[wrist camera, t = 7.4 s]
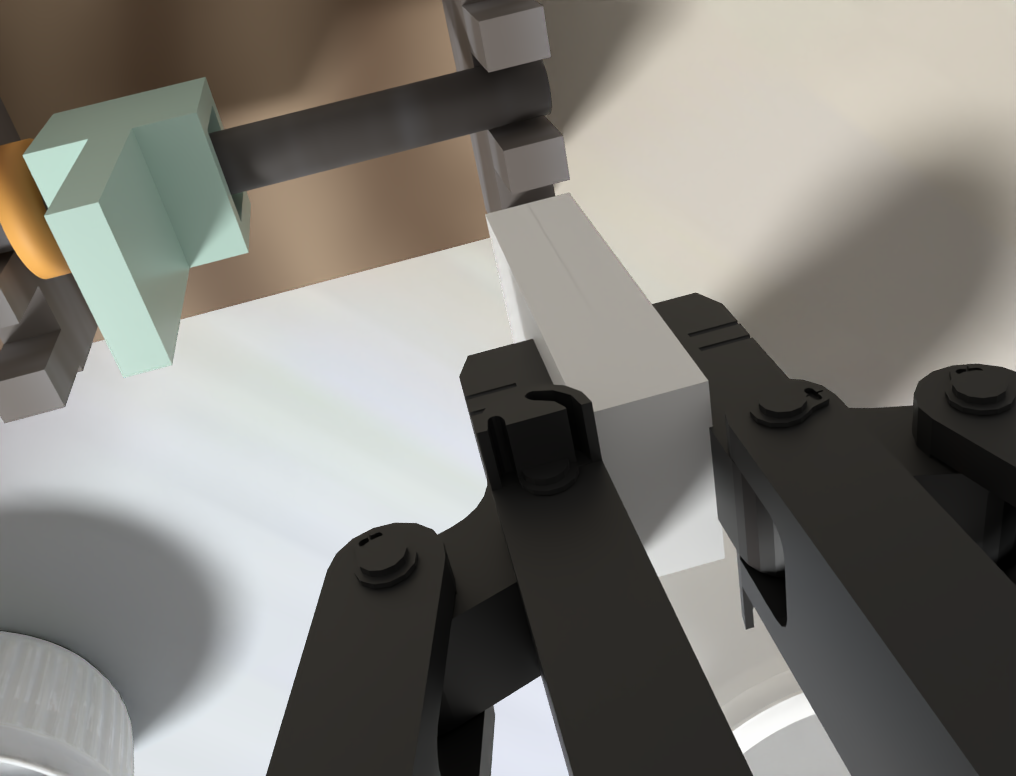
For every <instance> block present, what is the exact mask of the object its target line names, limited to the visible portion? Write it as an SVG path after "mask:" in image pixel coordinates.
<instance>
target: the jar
mask: <svg viewBox="0 0 1016 776" xmlns="http://www.w3.org/2000/svg"><path fill="white" fill-rule="evenodd" d="M722 531H723V541H724V552H725V558H724V559H720V560H717V561H713V562H710V563H706V564H702V565H699V566H695V567H692V568H688V569H685V570H681V571H678V572H674V573H671V574H667V575H664V576H660V577H658V578H659V580H660V582H661V584H662V586H663V588H664V590H665V592H666V594H667V596H668V599H669V601H670V603H671V605H672V607H673V609H674V611H675V613H676V615H677V617H678V619H679V621H680V624H681V626H682V628H683V630H684V632H685V634H686V636H687V638H688V640H689V642H690V644H691V647H692V649H693V651H694V653H695V655H696V657H697V659H698V661H699V663H700V665H701V667H702V670H703V672H704V674H705V676H706V678H707V680H708V682H709V684H710V686H711V688H712V690H713V692H714V695H715V697H716V699H717V701H718V703H719V705H720V707H721V709H722V711H723V713H724V715H725V718H726V720H727V722H728V724H729V726H730V728H731V730H732V732H733V734H734V736H735V738H736V740H737V743H738V745H739V747H740V749H741V751H742V753H743V755H744V757H745V759H746V761H747V763H748V766H749V768H750V770H751V772H752V774H753V776H851V774H850V773H849V771H848V769H847V767H846V766H845V764H844V762H843V761H842V759H841V757H840V755H839V754H838V752H837V750H836V748H835V747H834V745H833V743H832V741H831V740H830V738H829V736H828V735H827V733H826V731H825V729H824V728H823V726H822V724H821V722H820V721H819V719H818V717H817V715H816V714H815V712H814V710H813V709H812V707H811V705H810V703H809V702H808V700H807V698H806V696H805V695H804V693H803V691H802V689H801V688H800V686H799V684H798V682H797V681H796V679H795V677H794V676H793V674H792V672H791V670H790V669H789V667H788V665H787V663H786V662H785V660H784V658H783V656H782V655H781V653H780V651H779V650H778V648H777V646H776V644H775V643H774V641H773V639H772V637H771V636H770V634H769V632H768V630H767V629H766V627H765V625H764V624H763V622H762V620H761V618H760V617H759V615H758V613H757V611H756V610H755V608H753V618H754V628H750V629H747V630H746V629H745V625H744V621H743V618H742V610H741V598H740V586H739V575H738V563H737V551H736V548H735V547H734V545H733V543H732V542H731V540H730V538H729V537H728V535H727V533H726V532H725V530H724V528H723V527H722Z"/></svg>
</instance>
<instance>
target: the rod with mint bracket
mask: <svg viewBox="0 0 1016 776" xmlns="http://www.w3.org/2000/svg"><path fill="white" fill-rule="evenodd" d="M549 57H551V53H550V47H549V40H548V34H547V27H546V21H545V14H544V8H543V6H542V5H541V4H539V3H538V2H536V1H535V0H0V416H1V418H2V420H3V421H4V423H8V422H11V421H15V420H19V419H22V418H26V417H30V416H34V415H37V414H41V413H45V412H48V411H52V410H56V409H59V408H63V407H65V406H66V403H67V400H68V397H69V394H70V391H71V388H72V386H73V383H74V380H75V377H76V374H77V372H80V371H83V369H84V366H85V363H86V360H87V357H88V354H89V351H90V348H91V345H92V343H93V342H97V341H101V340H105V339H104V337H103V335H102V333H101V331H100V329H99V327H98V325H97V323H96V321H95V319H94V317H93V315H92V313H91V311H90V309H89V307H88V305H87V303H86V300H85V298H84V296H83V294H82V292H81V290H80V288H79V286H78V284H77V282H76V280H75V278H74V276H73V274H72V272H71V270H70V268H69V266H68V264H67V262H66V260H65V258H64V256H63V254H62V252H61V250H60V248H59V246H58V244H57V242H56V240H55V238H54V236H53V234H52V231H51V229H50V227H49V225H48V223H47V221H46V219H45V217H44V215H45V213H46V211H47V210H48V207H47V205H46V203H45V201H44V199H43V196H42V194H41V192H40V190H39V188H38V186H37V184H36V182H35V180H34V178H33V176H32V174H31V172H30V170H29V168H28V166H27V164H26V162H25V160H24V158H23V154H24V152H25V151H26V150H27V148H28V147H29V146H30V144H31V143H32V142H33V140H34V139H35V138H36V136H37V135H38V134H39V132H40V131H41V130H42V128H43V127H44V125H45V124H46V123H47V121H48V120H49V119H50V117H51V116H52V115H53V114H55V113H59V112H63V111H67V110H71V109H75V108H79V107H84V106H88V105H92V104H96V103H100V102H104V101H108V100H112V99H117V98H121V97H125V96H129V95H133V94H137V93H141V92H145V91H150V90H154V89H158V88H162V87H166V86H170V85H174V84H178V83H182V82H187V81H191V80H195V79H199V78H203V77H206V80H207V83H208V85H209V88H210V91H211V94H212V97H213V99H214V102H215V105H216V108H217V111H218V113H219V116H220V119H221V122H222V124H223V127H224V130H220V131H216V132H212V133H208V134H209V136H210V139H211V142H212V145H213V147H214V150H215V153H216V155H217V158H218V161H219V164H220V166H221V169H222V172H223V174H224V177H225V180H226V183H227V185H228V188H229V191H230V193H231V195H233V194H237V193H241V192H245V191H246V192H247V194H248V197H249V200H250V203H251V212H250V233H249V253H245V254H241V255H237V256H234V257H230V258H226V259H222V260H218V261H214V262H211V263H207V264H203V265H199V266H195V267H191V268H190V269H189V274H188V280H187V285H186V291H185V296H184V302H183V308H182V313H181V319H184V318H188V317H192V316H195V315H199V314H203V313H207V312H210V311H214V310H218V309H222V308H226V307H229V306H233V305H237V304H241V303H244V302H248V301H252V300H256V299H260V298H263V297H267V296H271V295H275V294H278V293H282V292H286V291H290V290H294V289H297V288H301V287H305V286H309V285H312V284H316V283H320V282H324V281H328V280H331V279H335V278H339V277H343V276H346V275H350V274H354V273H358V272H362V271H365V270H369V269H373V268H377V267H380V266H384V265H388V264H392V263H396V262H399V261H403V260H407V259H411V258H415V257H418V256H422V255H426V254H430V253H433V252H437V251H441V250H445V249H449V248H452V247H456V246H460V245H464V244H467V243H471V242H475V241H479V240H483V239H486V238H490V234H489V229H488V225H487V220H486V216H485V214H488V213H492V212H496V211H500V210H504V209H507V208H511V207H515V206H519V205H523V204H527V203H531V202H535V201H538V200H542V199H546V198H550V197H554V196H555V193H554V187H553V184H555V183H559V182H563V181H567V180H570V177H569V171H568V164H567V157H566V151H565V144H564V138H563V135H562V134H561V133H560V132H559V131H558V130H557V129H556V128H555V127H554V126H553V124H552V123H551V122H550V121H549V120H548V119H547V118H546V117H545V116H544V115H547V114H550V113H551V108H552V103H551V93H550V86H549V82H548V77H547V73H546V70H545V67H544V64H543V61H542V59H545V58H549Z"/></svg>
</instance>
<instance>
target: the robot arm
mask: <svg viewBox="0 0 1016 776" xmlns="http://www.w3.org/2000/svg"><path fill="white" fill-rule="evenodd" d="M485 216H486V220H487V225H488V229H489V234H490V238H491V243H492V247H493V252H494V256H495V261H496V265H497V270H498V274H499V279H500V283H501V288H502V292H503V297H504V301H505V306H506V310H507V315H508V319H509V324H510V328H511V333H512V337H513V342H514V344H511V345H507V346H503V347H499V348H496V349H492V350H488V351H484V352H481V353H477V354H473V355H469V356H468V357H467V360H466V362H465V364H464V367H463V369H462V371H461V374H460V376H459V378H460V381H461V385H462V389H463V393H464V396H465V400H466V404H467V408H468V412H469V415H470V419H471V423H472V427H473V430H474V434H475V438H476V442H477V446H478V449H479V453H480V457H481V460H482V464H483V468H484V471H485V475H486V478H487V488H486V492H485V495H484V497H483V499H482V500H481V502H480V503H479V505H478V506H477V508H476V509H475V510H473V511H472V512H471V513H470V514H469V515H468V516H467V517H466V518H465V519H463V520H462V521H460V522H459V523H457V524H456V525H454V526H453V527H451V528H449V529H447V530H445V531H444V532H442V533H440V534H438V535H437V534H436V533H435V531H434V530H433V529H430V528H427V527H425V526H422V525H419V524H417V523H392V524H388V525H384V526H380V527H376V528H373V529H371V530H369V531H367V532H365V533H363V534H361V535H359V536H357V537H355V538H353V539H352V540H351V541H350V542H349V543H348V544H346V545H345V546H344V547H343V548H342V549H341V550H340V551H339V552H338V553H337V554H336V555H335V557H334V559H333V561H332V563H331V565H330V566H329V568H328V570H327V573H326V576H325V580H324V583H323V586H322V590H321V593H320V596H319V600H318V603H317V607H316V610H315V613H314V617H313V620H312V623H311V627H310V630H309V633H308V637H307V640H306V643H305V647H304V650H303V653H302V657H301V660H300V663H299V667H298V670H297V673H296V677H295V680H294V683H293V687H292V690H291V694H290V697H289V700H288V704H287V707H286V710H285V714H284V717H283V720H282V724H281V727H280V730H279V734H278V737H277V740H276V744H275V747H274V750H273V754H272V757H271V760H270V764H269V767H268V771H267V774H266V776H491V764H492V751H493V737H494V723H495V713H494V706H493V705H494V704H496V703H497V702H499V701H501V700H502V699H504V698H505V697H507V696H509V695H510V694H512V693H513V692H515V691H517V690H518V689H520V688H521V687H523V686H525V685H526V684H528V683H529V682H531V681H533V680H534V679H536V678H537V677H539V676H541V677H542V681H543V684H544V688H545V691H546V695H547V698H548V702H549V705H550V709H551V712H552V716H553V720H554V723H555V727H556V730H557V734H558V737H559V741H560V744H561V748H562V751H563V755H564V759H565V762H566V766H567V769H568V773H569V776H753V774H752V772H751V770H750V768H749V766H748V763H747V761H746V759H745V757H744V755H743V753H742V751H741V749H740V747H739V745H738V743H737V740H736V738H735V736H734V734H733V732H732V730H731V728H730V726H729V724H728V722H727V720H726V718H725V715H724V713H723V711H722V709H721V707H720V705H719V703H718V701H717V699H716V697H715V695H714V692H713V690H712V688H711V686H710V684H709V682H708V680H707V678H706V676H705V674H704V672H703V670H702V667H701V665H700V663H699V661H698V659H697V657H696V655H695V653H694V651H693V649H692V647H691V644H690V642H689V640H688V638H687V636H686V634H685V632H684V630H683V628H682V626H681V624H680V621H679V619H678V617H677V615H676V613H675V611H674V609H673V607H672V605H671V603H670V601H669V599H668V596H667V594H666V592H665V590H664V588H663V586H662V584H661V582H660V580H659V578H658V577H660V576H664V575H667V574H671V573H674V572H678V571H681V570H685V569H688V568H692V567H695V566H699V565H702V564H706V563H710V562H713V561H717V560H720V559H724V558H725V552H724V541H723V531H722V527H723V528H724V530H725V532H726V533H727V535H728V537H729V538H730V540H731V542H732V543H733V545H734V547H735V548H736V551H737V563H738V575H739V586H740V598H741V610H742V618H743V621H744V625H745V629H746V630H747V629H750V628H754V618H753V608H755V610H756V611H757V613H758V615H759V617H760V618H761V620H762V622H763V624H764V625H765V627H766V629H767V630H768V632H769V634H770V636H771V637H772V639H773V641H774V643H775V644H776V646H777V648H778V650H779V651H780V653H781V655H782V656H783V658H784V660H785V662H786V663H787V665H788V667H789V669H790V670H791V672H792V674H793V676H794V677H795V679H796V681H797V682H798V684H799V686H800V688H801V689H802V691H803V693H804V695H805V696H806V698H807V700H808V702H809V703H810V705H811V707H812V709H813V710H814V712H815V714H816V715H817V717H818V719H819V721H820V722H821V724H822V726H823V728H824V729H825V731H826V733H827V735H828V736H829V738H830V740H831V741H832V743H833V745H834V747H835V748H836V750H837V752H838V754H839V755H840V757H841V759H842V761H843V762H844V764H845V766H846V767H847V769H848V771H849V773H850V774H851V776H1016V372H1015V371H1012V370H1009V369H1006V368H1003V367H999V366H990V365H982V364H967V365H953V366H950V367H946V368H943V369H940V370H936V371H933V372H931V373H930V374H929V375H927V376H926V377H924V378H923V379H922V380H920V381H919V382H918V385H917V387H916V390H915V392H914V400H913V406H900V407H884V408H848V407H847V406H846V405H845V404H844V403H843V402H842V401H841V400H840V399H839V398H838V397H837V396H836V395H835V394H834V393H832V392H831V391H829V390H828V389H826V388H825V387H823V386H822V385H818V384H815V383H812V382H808V381H805V380H796V379H789V378H788V377H787V376H786V375H785V374H784V372H783V371H782V370H781V369H780V368H779V367H778V366H777V365H776V364H775V362H774V361H773V360H772V359H771V358H770V357H769V356H768V355H767V353H766V352H765V351H764V350H763V349H762V348H761V347H760V346H759V344H758V343H757V342H756V341H755V340H754V339H753V338H750V335H749V333H748V332H747V331H746V330H745V329H744V328H743V327H742V325H741V324H738V322H737V320H736V319H735V318H734V316H733V315H732V314H731V313H730V312H729V311H728V310H727V309H726V307H725V306H724V305H723V304H722V303H719V302H717V301H714V300H712V299H710V298H707V297H705V296H703V295H700V294H698V293H693V294H689V295H685V296H681V297H678V298H674V299H670V300H666V301H663V302H659V303H655V304H651V303H650V301H649V300H648V299H647V297H646V296H645V294H644V293H643V292H642V290H641V289H640V288H639V286H638V285H637V284H636V282H635V281H634V280H633V278H632V277H631V276H630V274H629V273H628V271H627V270H626V269H625V267H624V266H623V265H622V263H621V262H620V261H619V259H618V258H617V257H616V255H615V254H614V253H613V251H612V250H611V248H610V247H609V246H608V244H607V243H606V242H605V240H604V239H603V238H602V236H601V235H600V234H599V232H598V231H597V230H596V228H595V227H594V226H593V224H592V223H591V221H590V220H589V219H588V217H587V216H586V215H585V213H584V212H583V211H582V209H581V208H580V207H579V205H578V204H577V203H576V201H575V200H574V198H573V197H572V196H571V194H570V193H566V194H562V195H558V196H554V197H550V198H546V199H542V200H538V201H535V202H531V203H527V204H523V205H519V206H515V207H511V208H507V209H504V210H500V211H496V212H492V213H488V214H485Z"/></svg>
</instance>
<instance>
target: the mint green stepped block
mask: <svg viewBox="0 0 1016 776" xmlns="http://www.w3.org/2000/svg"><path fill="white" fill-rule="evenodd" d="M220 130H224V127H223V124H222V122H221V119H220V116H219V113H218V111H217V108H216V105H215V102H214V99H213V97H212V94H211V91H210V88H209V85H208V83H207V80H206V77H203V78H199V79H195V80H191V81H187V82H182V83H178V84H174V85H170V86H166V87H162V88H158V89H154V90H150V91H145V92H141V93H137V94H133V95H129V96H125V97H121V98H117V99H112V100H108V101H104V102H100V103H96V104H92V105H88V106H84V107H79V108H75V109H71V110H67V111H63V112H59V113H55V114H53V115H52V116H51V117H50V119H49V120H48V121H47V123H46V124H45V125H44V127H43V128H42V130H41V131H40V132H39V134H38V135H37V136H36V138H35V139H34V140H33V142H32V143H31V144H30V146H29V147H28V148H27V150H26V151H25V152H24V154H23V158H24V160H25V162H26V164H27V166H28V168H29V170H30V172H31V174H32V176H33V178H34V180H35V182H36V184H37V186H38V188H39V190H40V192H41V194H42V196H43V199H44V201H45V203H46V205H47V207H48V210H47V211H46V213H45V215H44V217H45V219H46V221H47V223H48V225H49V227H50V229H51V231H52V234H53V236H54V238H55V240H56V242H57V244H58V246H59V248H60V250H61V252H62V254H63V256H64V258H65V260H66V262H67V264H68V266H69V268H70V270H71V272H72V274H73V276H74V278H75V280H76V282H77V284H78V286H79V288H80V290H81V292H82V294H83V296H84V298H85V300H86V303H87V305H88V307H89V309H90V311H91V313H92V315H93V317H94V319H95V321H96V323H97V325H98V327H99V329H100V331H101V333H102V335H103V337H104V339H105V341H106V343H107V345H108V347H109V349H110V351H111V353H112V355H113V357H114V359H115V361H116V363H117V365H118V367H119V370H120V372H121V374H122V376H123V378H126V377H129V376H133V375H137V374H141V373H144V372H148V371H152V370H155V369H159V368H163V367H167V366H170V365H172V363H173V358H174V352H175V346H176V341H177V335H178V330H179V324H180V319H181V313H182V308H183V302H184V296H185V291H186V285H187V280H188V274H189V269H190V268H191V267H195V266H199V265H203V264H207V263H211V262H214V261H218V260H222V259H226V258H230V257H234V256H237V255H241V254H245V253H249V233H250V212H251V203H250V200H249V197H248V194H247V192H246V191H245V192H241V193H237V194H233V195H231V193H230V191H229V188H228V185H227V183H226V180H225V177H224V174H223V172H222V169H221V166H220V164H219V161H218V158H217V155H216V153H215V150H214V147H213V145H212V142H211V139H210V136H209V134H208V133H212V132H216V131H220Z"/></svg>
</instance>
